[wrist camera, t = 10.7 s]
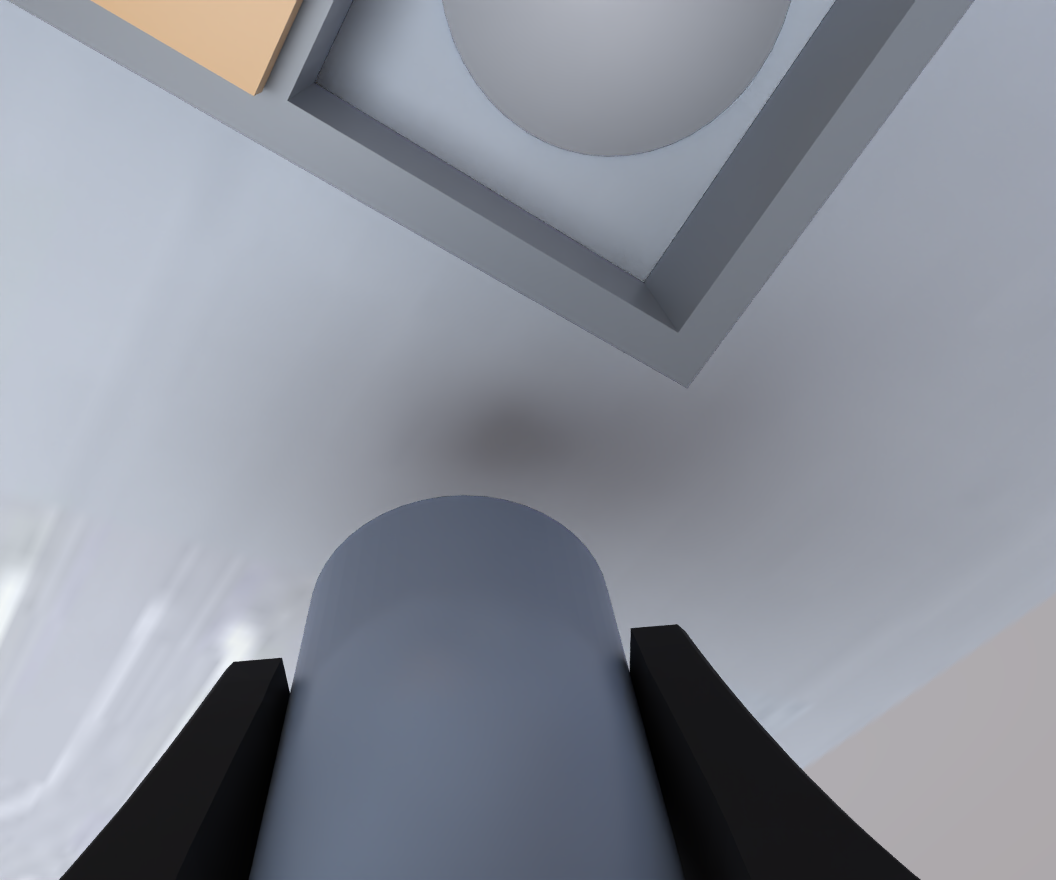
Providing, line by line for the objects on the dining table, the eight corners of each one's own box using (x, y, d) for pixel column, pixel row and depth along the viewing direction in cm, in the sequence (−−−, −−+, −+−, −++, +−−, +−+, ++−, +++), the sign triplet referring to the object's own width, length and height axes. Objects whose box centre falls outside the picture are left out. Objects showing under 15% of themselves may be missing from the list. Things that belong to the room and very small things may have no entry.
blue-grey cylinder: (667, 575, 13) (850, 1056, 7) (509, 765, 14) (550, 1285, 8) (402, 443, 11) (355, 908, 5) (258, 669, 13) (106, 1214, 7)
